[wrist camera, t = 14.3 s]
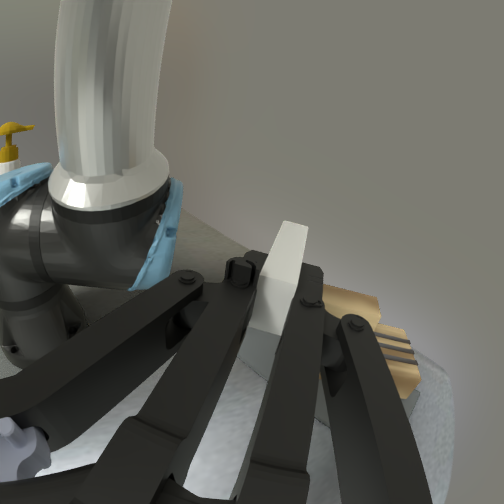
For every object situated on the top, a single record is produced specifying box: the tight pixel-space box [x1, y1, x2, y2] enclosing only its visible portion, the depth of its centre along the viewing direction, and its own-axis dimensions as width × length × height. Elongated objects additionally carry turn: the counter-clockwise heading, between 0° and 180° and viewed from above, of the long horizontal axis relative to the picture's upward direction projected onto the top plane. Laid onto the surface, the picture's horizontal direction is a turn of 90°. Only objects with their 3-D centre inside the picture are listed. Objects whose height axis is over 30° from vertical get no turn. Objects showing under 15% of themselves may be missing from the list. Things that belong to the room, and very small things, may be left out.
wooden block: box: [319, 284, 381, 379], centre depth 33 cm, size 4×7×12 cm, turn 75°
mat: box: [237, 324, 420, 428], centre depth 36 cm, size 30×14×1 cm, turn 45°
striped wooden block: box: [374, 323, 421, 399], centre depth 35 cm, size 4×7×12 cm
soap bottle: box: [0, 122, 35, 175], centre depth 41 cm, size 13×10×29 cm
